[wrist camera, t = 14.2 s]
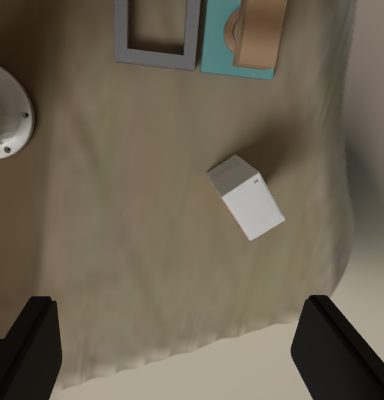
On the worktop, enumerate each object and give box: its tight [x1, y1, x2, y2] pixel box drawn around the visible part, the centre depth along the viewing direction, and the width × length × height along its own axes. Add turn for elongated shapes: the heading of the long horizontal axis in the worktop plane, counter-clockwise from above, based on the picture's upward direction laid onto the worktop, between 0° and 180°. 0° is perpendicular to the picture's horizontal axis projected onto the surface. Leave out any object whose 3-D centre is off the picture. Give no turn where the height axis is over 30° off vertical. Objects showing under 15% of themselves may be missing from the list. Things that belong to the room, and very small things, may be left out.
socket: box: [114, 0, 201, 71], centre depth 33 cm, size 10×10×2 cm
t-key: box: [223, 0, 287, 70], centre depth 31 cm, size 9×5×8 cm, turn 174°
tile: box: [200, 0, 274, 80], centre depth 35 cm, size 10×10×1 cm
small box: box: [206, 154, 285, 241], centre depth 38 cm, size 8×6×10 cm
